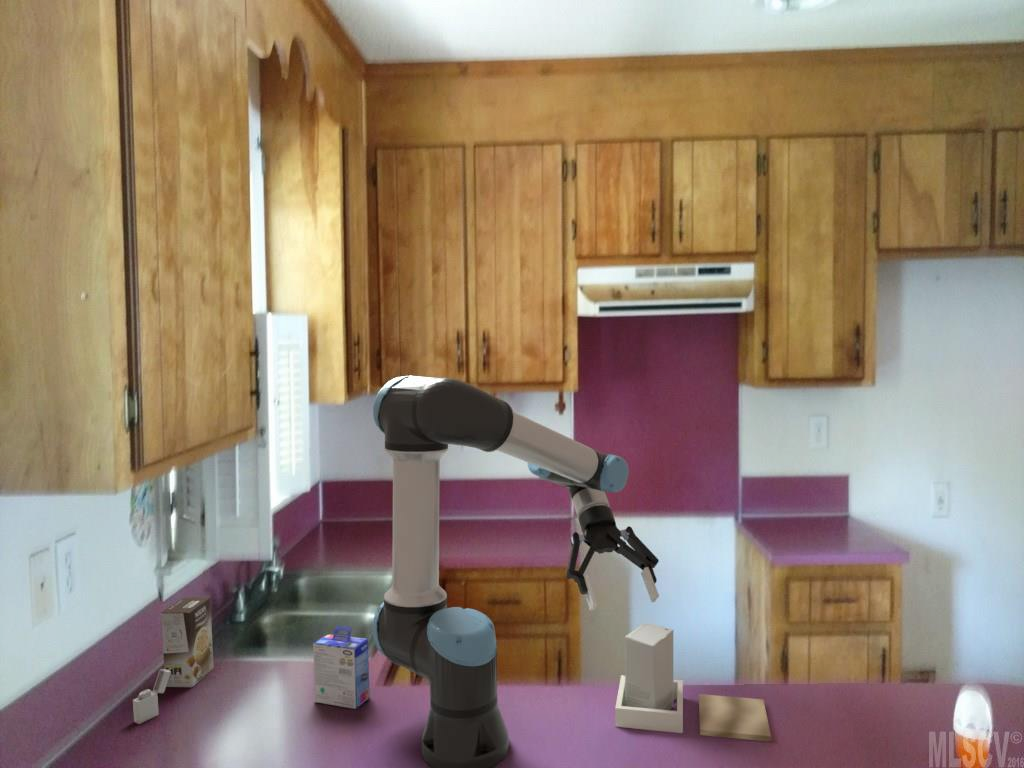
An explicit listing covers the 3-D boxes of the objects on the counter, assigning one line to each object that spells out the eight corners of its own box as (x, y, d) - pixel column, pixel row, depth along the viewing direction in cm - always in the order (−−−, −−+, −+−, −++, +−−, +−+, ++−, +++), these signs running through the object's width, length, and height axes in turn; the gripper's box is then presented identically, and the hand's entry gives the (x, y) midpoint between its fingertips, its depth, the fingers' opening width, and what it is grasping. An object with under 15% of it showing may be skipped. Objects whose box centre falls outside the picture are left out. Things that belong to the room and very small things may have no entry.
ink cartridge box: (371, 697, 149) (369, 626, 148) (357, 710, 144) (354, 638, 143) (329, 690, 152) (326, 621, 151) (313, 703, 147) (310, 632, 146)
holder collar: (615, 726, 136) (615, 708, 135) (621, 692, 148) (621, 675, 148) (682, 733, 133) (682, 714, 133) (682, 697, 146) (682, 680, 145)
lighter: (138, 724, 140) (136, 683, 140) (133, 721, 141) (131, 681, 141) (173, 707, 146) (170, 668, 146) (167, 705, 147) (165, 666, 147)
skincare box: (645, 697, 146) (645, 620, 145) (676, 707, 142) (676, 628, 141) (623, 715, 139) (622, 635, 138) (655, 726, 135) (654, 644, 134)
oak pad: (700, 734, 132) (700, 729, 132) (698, 698, 145) (698, 693, 145) (771, 741, 130) (771, 736, 129) (763, 704, 142) (763, 699, 142)
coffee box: (193, 688, 154) (189, 612, 153) (164, 687, 155) (159, 612, 154) (214, 667, 163) (210, 596, 162) (186, 667, 164) (182, 596, 163)
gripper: (640, 516, 169) (673, 603, 156) (536, 527, 162) (562, 619, 149) (650, 498, 164) (686, 587, 150) (544, 509, 156) (571, 603, 143)
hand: (624, 603), depth 149 cm, fingers open, 13 cm apart
